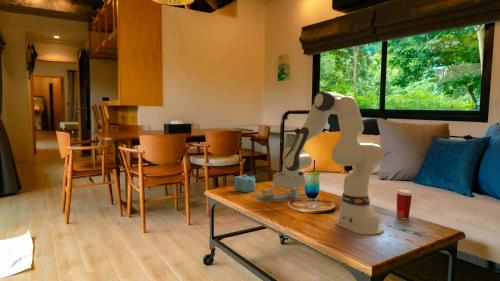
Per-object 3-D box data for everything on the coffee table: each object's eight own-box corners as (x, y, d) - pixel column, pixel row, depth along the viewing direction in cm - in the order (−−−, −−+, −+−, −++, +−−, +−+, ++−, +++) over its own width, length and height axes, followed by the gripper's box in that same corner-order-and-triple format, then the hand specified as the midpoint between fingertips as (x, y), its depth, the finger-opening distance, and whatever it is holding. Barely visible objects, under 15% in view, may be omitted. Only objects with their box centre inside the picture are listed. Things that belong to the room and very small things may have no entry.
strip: (300, 200, 200) (301, 190, 199) (259, 202, 192) (260, 192, 191) (293, 196, 210) (293, 186, 210) (253, 197, 202) (254, 188, 202)
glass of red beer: (409, 216, 175) (411, 190, 174) (412, 220, 168) (414, 193, 167) (393, 214, 177) (395, 188, 176) (395, 218, 170) (397, 191, 169)
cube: (273, 198, 198) (273, 190, 197) (265, 199, 196) (265, 190, 196) (270, 196, 202) (270, 188, 202) (262, 197, 201) (262, 189, 200)
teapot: (226, 191, 217) (227, 174, 216) (247, 188, 229) (248, 171, 228) (242, 196, 205) (243, 178, 204) (263, 192, 217) (264, 175, 216)
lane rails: (320, 200, 202) (320, 198, 201) (257, 203, 190) (257, 201, 190) (309, 194, 215) (309, 193, 215) (250, 197, 203) (250, 195, 203)
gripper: (275, 173, 196) (274, 196, 197) (306, 172, 202) (305, 195, 203) (271, 171, 202) (270, 193, 203) (302, 171, 208) (301, 192, 209)
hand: (288, 194), depth 203 cm, fingers closed
